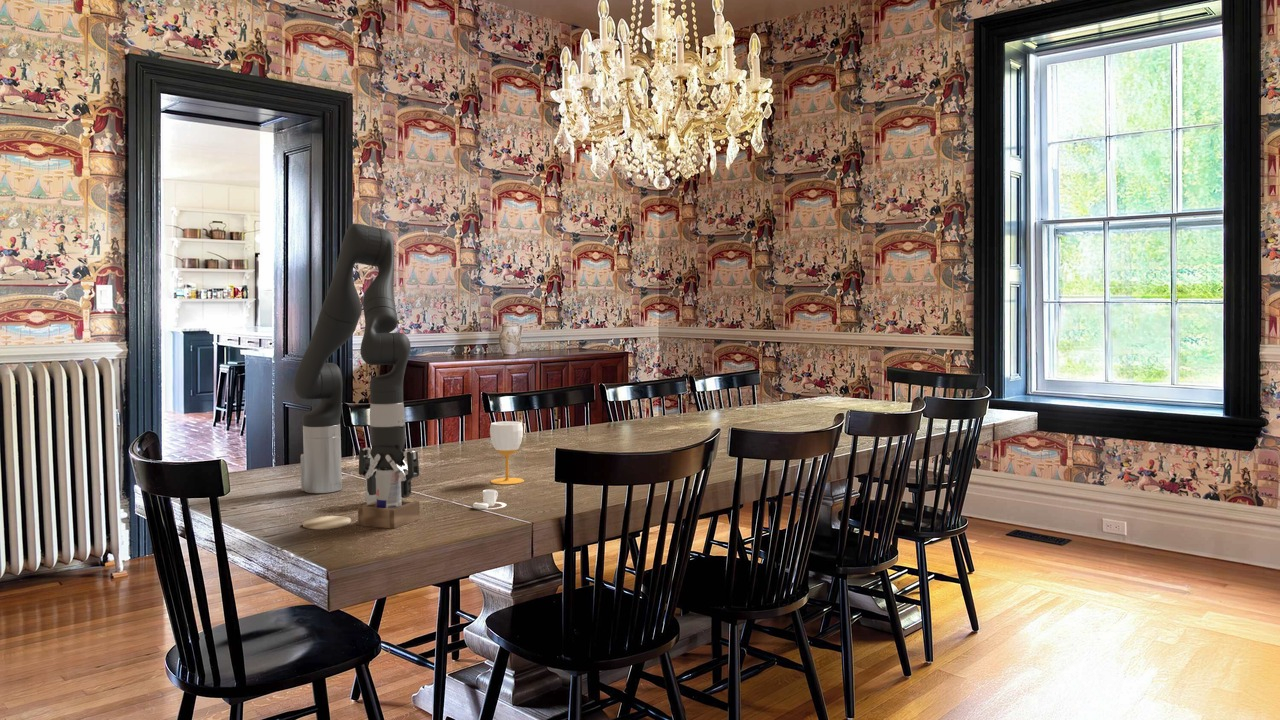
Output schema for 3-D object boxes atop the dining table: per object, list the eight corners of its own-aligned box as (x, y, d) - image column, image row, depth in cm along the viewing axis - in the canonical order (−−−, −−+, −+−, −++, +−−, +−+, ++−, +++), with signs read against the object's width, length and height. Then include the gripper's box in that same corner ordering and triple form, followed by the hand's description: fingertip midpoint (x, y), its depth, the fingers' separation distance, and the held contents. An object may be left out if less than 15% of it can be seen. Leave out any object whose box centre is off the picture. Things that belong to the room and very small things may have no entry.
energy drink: (379, 519, 204) (378, 466, 203) (403, 518, 204) (402, 466, 204) (374, 525, 199) (373, 470, 198) (399, 524, 199) (398, 470, 198)
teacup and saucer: (477, 513, 212) (477, 495, 212) (464, 507, 218) (464, 490, 218) (512, 508, 217) (511, 491, 216) (498, 502, 223) (497, 486, 223)
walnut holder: (358, 525, 199) (357, 507, 199) (384, 515, 208) (384, 498, 207) (394, 528, 196) (394, 510, 195) (419, 518, 204) (419, 501, 204)
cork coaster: (292, 527, 197) (292, 524, 197) (324, 517, 207) (324, 514, 207) (330, 530, 194) (330, 528, 194) (360, 520, 203) (360, 517, 203)
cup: (506, 477, 254) (506, 420, 253) (530, 480, 249) (530, 422, 248) (483, 482, 247) (482, 423, 246) (507, 486, 241) (506, 426, 240)
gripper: (349, 424, 199) (351, 497, 200) (404, 426, 194) (406, 501, 195) (371, 420, 206) (373, 490, 207) (424, 422, 201) (426, 494, 202)
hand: (389, 495), depth 201 cm, fingers open, 8 cm apart
